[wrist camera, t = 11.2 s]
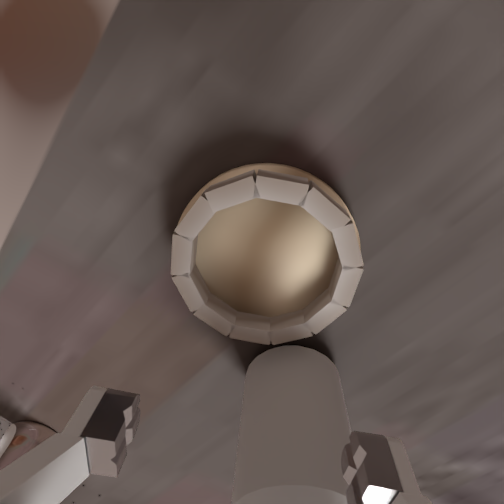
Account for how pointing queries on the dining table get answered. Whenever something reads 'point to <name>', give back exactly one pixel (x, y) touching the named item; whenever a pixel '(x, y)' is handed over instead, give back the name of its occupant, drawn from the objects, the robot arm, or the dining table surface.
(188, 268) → the beige round shallow dish
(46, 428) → the beer glass
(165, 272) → the dining table surface
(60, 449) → the robot arm
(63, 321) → the dining table surface
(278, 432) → the can
